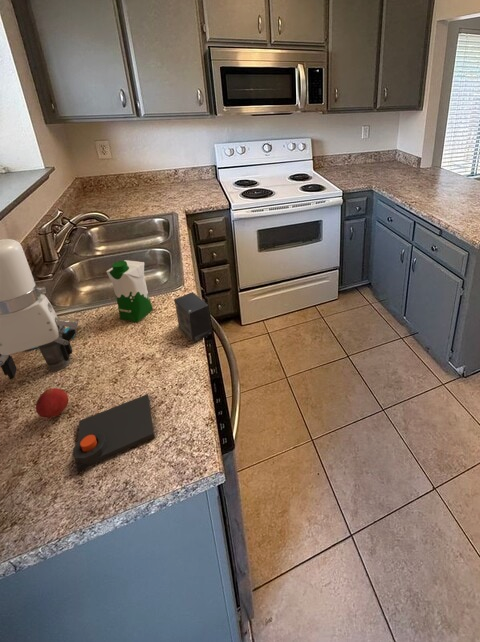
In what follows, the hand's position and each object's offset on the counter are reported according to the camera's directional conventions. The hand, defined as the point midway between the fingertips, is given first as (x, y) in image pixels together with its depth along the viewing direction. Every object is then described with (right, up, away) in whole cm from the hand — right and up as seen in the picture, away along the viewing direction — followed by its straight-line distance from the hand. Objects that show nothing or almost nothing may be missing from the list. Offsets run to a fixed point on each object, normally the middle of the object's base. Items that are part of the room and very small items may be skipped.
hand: (41, 365), depth 78 cm
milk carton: (0, -1, +41) cm, 40 cm away
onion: (0, -14, +5) cm, 14 cm away
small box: (+22, -3, +32) cm, 39 cm away
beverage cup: (-11, -9, +20) cm, 24 cm away
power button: (+14, -14, -5) cm, 21 cm away
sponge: (-20, -5, +30) cm, 36 cm away
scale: (+16, -15, 0) cm, 22 cm away
